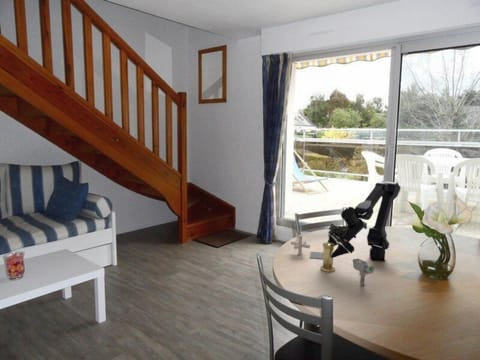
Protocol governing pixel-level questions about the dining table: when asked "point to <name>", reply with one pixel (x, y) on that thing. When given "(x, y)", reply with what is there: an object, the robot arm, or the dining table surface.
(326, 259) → the brass pedestal cup
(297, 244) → the pipe connector
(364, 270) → the grey mottled tree figurine
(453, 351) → the dining table surface
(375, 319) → the dining table surface
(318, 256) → the mat
